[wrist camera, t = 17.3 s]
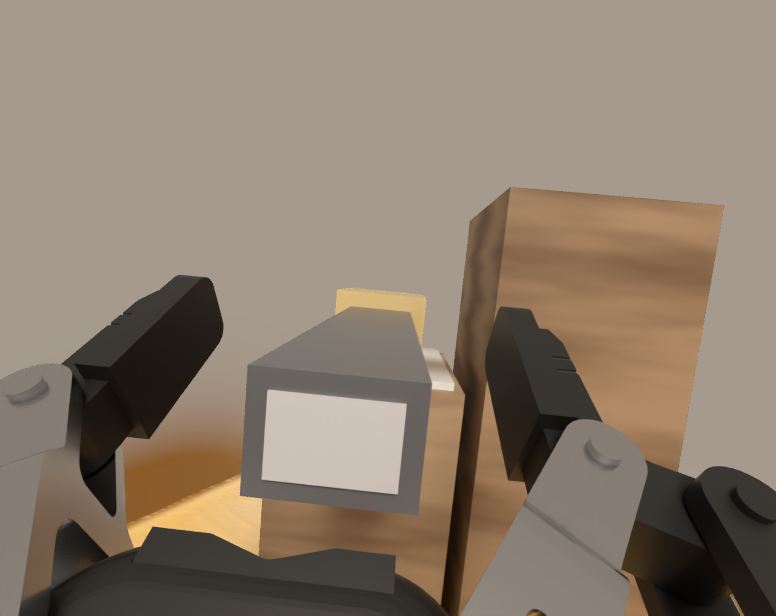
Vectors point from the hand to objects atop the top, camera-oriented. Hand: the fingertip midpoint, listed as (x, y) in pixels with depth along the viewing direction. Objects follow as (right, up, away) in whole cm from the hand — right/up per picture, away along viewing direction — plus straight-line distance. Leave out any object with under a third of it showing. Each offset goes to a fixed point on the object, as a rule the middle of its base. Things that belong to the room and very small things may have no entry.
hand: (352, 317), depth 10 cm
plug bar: (0, -3, +9) cm, 9 cm away
